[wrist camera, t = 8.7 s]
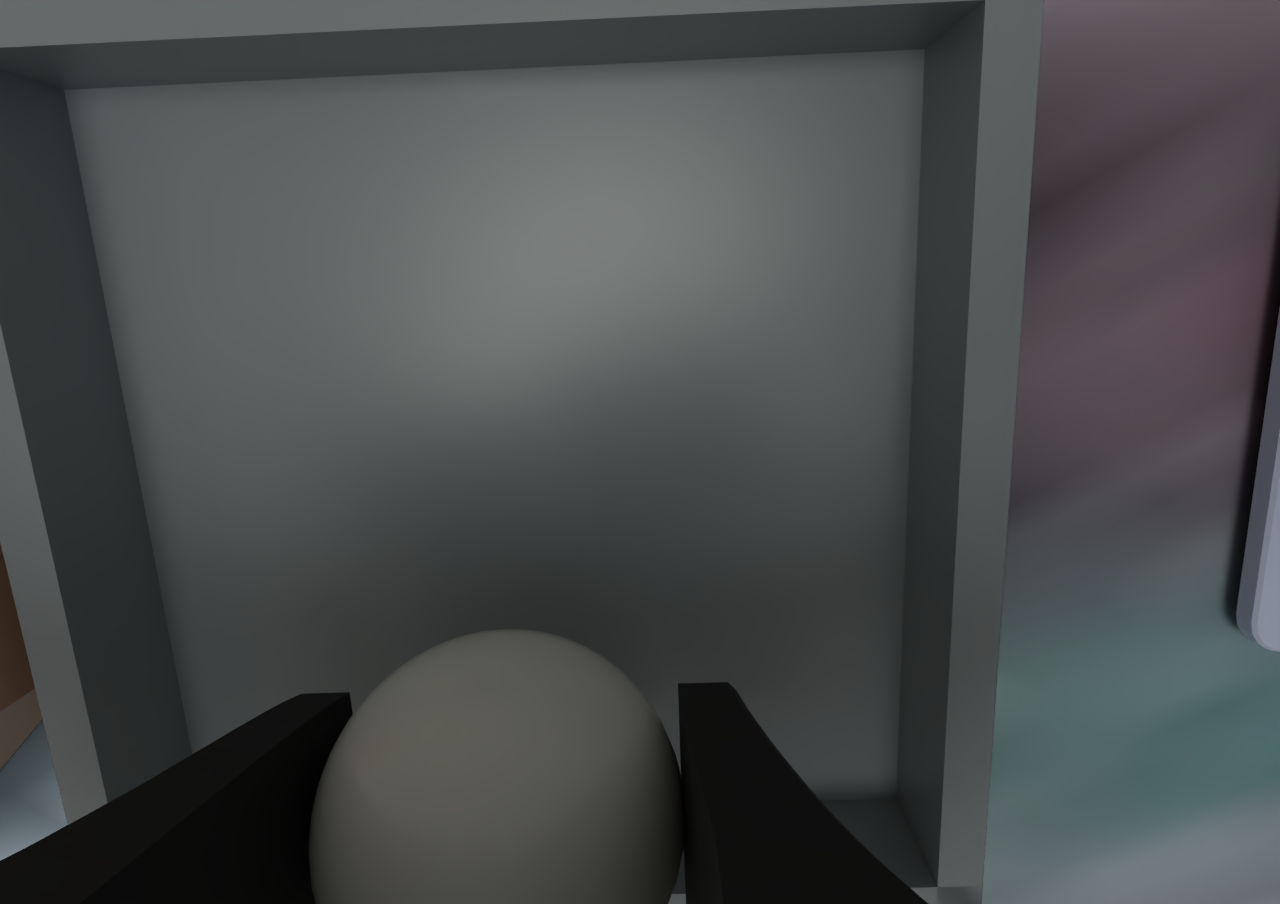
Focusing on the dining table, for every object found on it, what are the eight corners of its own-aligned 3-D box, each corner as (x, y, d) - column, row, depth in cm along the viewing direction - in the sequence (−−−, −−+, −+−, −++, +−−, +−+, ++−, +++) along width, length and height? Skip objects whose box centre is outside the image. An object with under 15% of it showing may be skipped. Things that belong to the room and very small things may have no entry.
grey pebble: (673, 570, 10) (689, 760, 6) (682, 835, 11) (701, 1148, 7) (368, 580, 10) (191, 774, 6) (401, 843, 11) (266, 1156, 7)
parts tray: (962, 5, 10) (1049, -69, 8) (923, 813, 13) (979, 923, 11) (33, 50, 10) (-132, -11, 8) (188, 834, 13) (96, 945, 11)
